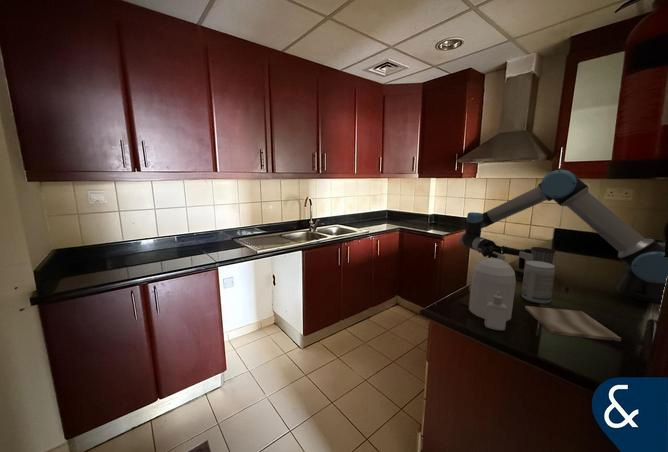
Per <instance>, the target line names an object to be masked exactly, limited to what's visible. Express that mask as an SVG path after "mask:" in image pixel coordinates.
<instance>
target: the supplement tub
mask: <svg viewBox="0 0 668 452" xmlns="http://www.w3.org/2000/svg"><path fill="white" fill-rule="evenodd" d="M555 272H556V266H555V265H554V264H553V263H552V264H550V263H546V262H540V261H529V260H525V267H524V269H523V273H524V276H523V281H522V287H521V297H522V298H523V299H524V300H527V301H528V302H532V303H537V304H550V303H551V302H552V295H553V287H554V282H555V274H556V273H555Z"/></svg>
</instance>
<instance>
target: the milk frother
mask: <svg viewBox="0 0 668 452" xmlns="http://www.w3.org/2000/svg"><path fill="white" fill-rule="evenodd" d="M523 250H524V251H525V253H528V254H531V255H533V261H540V262H546V263H550V264H552V265H553V262H554V257H555V253H556V250H554V249H551V248H547V247H540V246H539V247H538V246H532V247H530V248H525V249H523ZM525 262H526V259H523V258H521V257H519V256H518V269H519V270H524V267H525ZM519 270H514V272H515V277H517V278H518V279H520V280H521V281H522V282H523V276H524V272H522V271H519Z"/></svg>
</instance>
